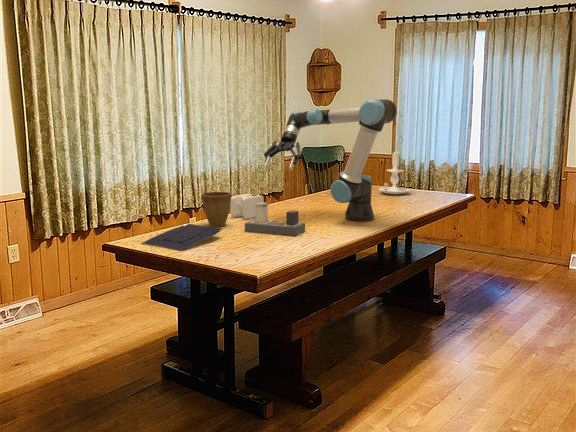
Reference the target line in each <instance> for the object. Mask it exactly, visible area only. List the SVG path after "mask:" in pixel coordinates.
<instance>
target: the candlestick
mask: <svg viewBox="0 0 576 432" xmlns="http://www.w3.org/2000/svg"><path fill="white" fill-rule="evenodd" d="M391 163H392V168H391V169H385V171H386V172H389V173H391V176H390V179H389V181H390V183H391V184H392V186H389V184H388V183H386V182H384V183H383V187H379V188H378V190H379V191H380V192H382V193H384V194H387V195H403V194H406V193H408V192H409V191H411V188H408V187H402V186H397V184H398V183H399V181H400V177H399V175H398V174H399V173H402V172H405V171H404V169H398V166H399V151H393V152H392V161H391Z"/></svg>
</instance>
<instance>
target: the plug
mask: <svg viewBox="0 0 576 432" xmlns="http://www.w3.org/2000/svg"><path fill="white" fill-rule="evenodd" d="M268 209H269V208H268V202H264V203H263V202H260V203H257V204H256V217H255V219H256V223H266V222H268V220H269V219H268V218H269V217H268V215H269V214H268V213H269V212H268Z"/></svg>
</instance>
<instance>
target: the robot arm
mask: <svg viewBox="0 0 576 432" xmlns="http://www.w3.org/2000/svg"><path fill="white" fill-rule="evenodd" d="M397 115H398V108H397V105H396V104H395V102H393V101H392V100H390V99H388V98H387V99H384V98H383V99H377V98H372V99H368V100H366V101H364V102H362V104H361V106H352V107H343V108H342V107H341V108H340V107H339V108H332V109H319V108H311V109H309V110H307V111H300V110H293V111H292V112H290V115H289V116H288V119H287V122H286V125H285V128H284V130H283V133H282V135H281V139H280V142H277V141H276V140H275V141H274V142H273V144H272V145H271V146H270V147H269V148H268V149H267V150H266V151H265V152H264V153H263V156H264V158H265V160H264V162H265V163H264V169H266V170H269V166H270V163H271V161H272V158H273V157H275V155H277V154H278V153H281V152H289V151H290V153H291V155H292V159H291V161H290V165H289V166H288V167H289V170H290V171H291V172H292V171H293V169H294V166H295V165H297V162H298V160H302V159H303V158H302V153H301V149H300V148H301V145H300V142H299V141H298V142H296V141H297V138H298V136H299V133H300V131H301V129H303V128H307V127H310V126H318V125H319V126H320V125H331V124H345V123H355V122H356V123H357V122H358V125H359V127H360V128H359V130H358V133H357V135H356V139H355V141H354V144H353V147H352V149H351V152H350V155H349V157H348V160H347V163H346V165H345V167H344V170H342V171H341V172H339V176H338V178H337V180H335V181H333V182H332V183H331V186H330V194H331V196H332V198H333V200H334V201H335V202H337V203H339V204H347V203H348V205H347V206H346V207H347V208H346V211H345V214H344V219H345V220H349V221H355V222H367V221H369V222H370V221H373V220H374V219H375V212H374V209H373V206H372V186H373V182H372V176H370V175H366V174H365V175H364V174H363V171H364V168H365V165H366V163H367V162H368V158H369V157H370V154H371V151H372V148H373V146H374V143H375V140H376V139H377V135H378V134H379V133H381V132H382V130H383V128H384V126H385V124H389V123H391V122H393V121H394V120H395V119H396V117H397ZM293 148H296V152H297V154H296V152H295V150H294V149H293Z"/></svg>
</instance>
